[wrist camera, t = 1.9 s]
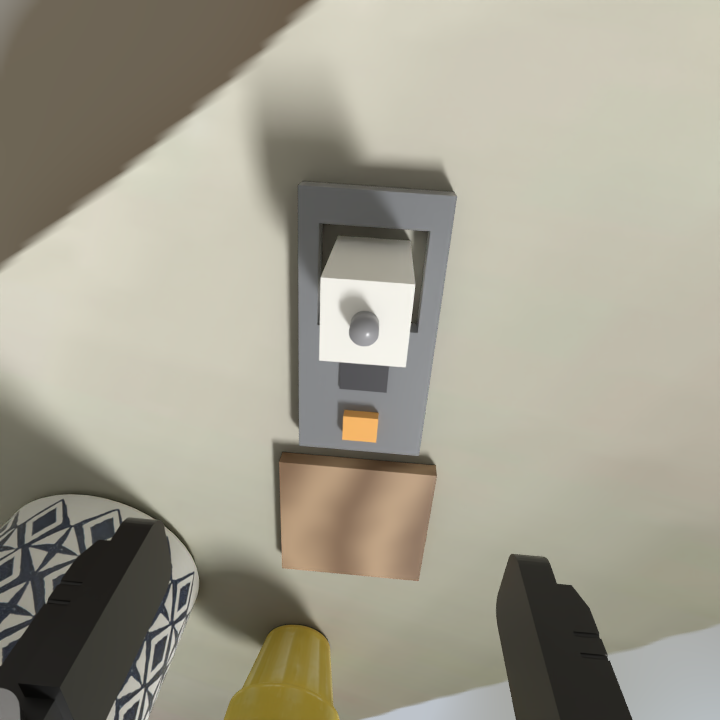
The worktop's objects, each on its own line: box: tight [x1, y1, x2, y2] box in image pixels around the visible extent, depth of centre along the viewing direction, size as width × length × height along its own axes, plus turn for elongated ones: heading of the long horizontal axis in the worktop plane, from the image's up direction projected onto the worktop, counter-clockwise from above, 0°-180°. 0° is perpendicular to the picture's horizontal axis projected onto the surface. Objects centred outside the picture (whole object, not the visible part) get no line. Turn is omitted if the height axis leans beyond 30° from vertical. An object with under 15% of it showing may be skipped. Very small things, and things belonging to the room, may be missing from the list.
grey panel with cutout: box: [298, 181, 457, 456], centre depth 31 cm, size 9×18×2 cm, turn 177°
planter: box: [0, 494, 199, 720], centre depth 38 cm, size 18×18×16 cm
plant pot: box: [224, 625, 339, 720], centre depth 45 cm, size 10×10×10 cm
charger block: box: [319, 235, 415, 367], centre depth 26 cm, size 4×4×9 cm
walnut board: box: [279, 452, 437, 581], centre depth 40 cm, size 12×12×1 cm
